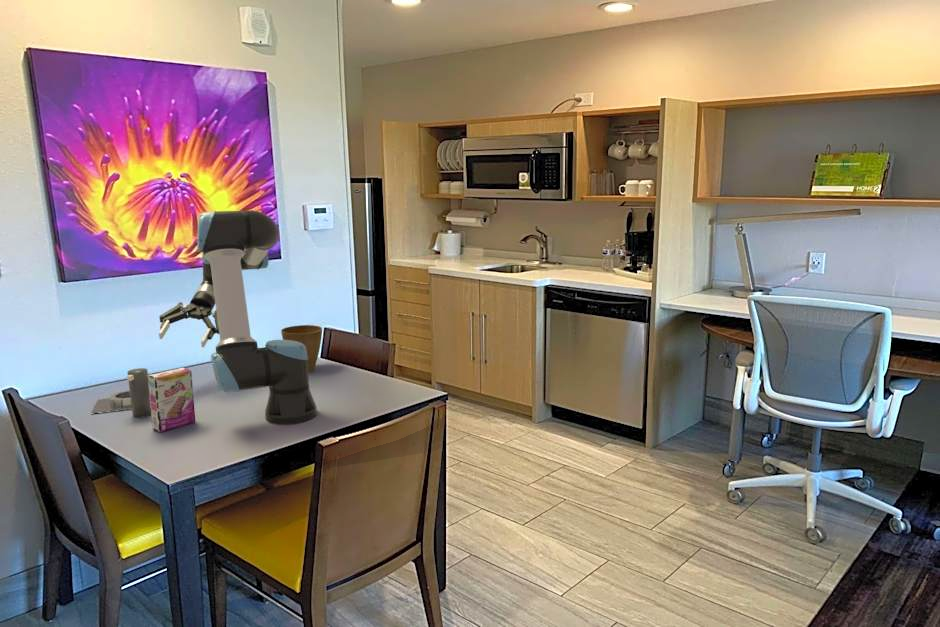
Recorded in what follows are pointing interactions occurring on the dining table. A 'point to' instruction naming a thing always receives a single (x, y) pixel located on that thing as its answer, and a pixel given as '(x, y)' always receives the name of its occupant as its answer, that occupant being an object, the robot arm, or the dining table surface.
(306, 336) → the plant pot
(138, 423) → the dining table surface
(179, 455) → the dining table surface
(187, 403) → the candy bar box
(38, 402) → the dining table surface
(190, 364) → the dining table surface
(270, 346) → the robot arm
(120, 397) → the well
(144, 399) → the grey tall cylinder
